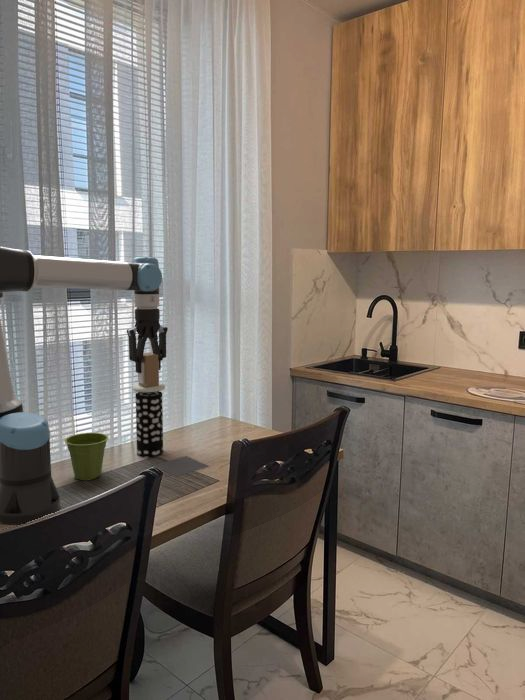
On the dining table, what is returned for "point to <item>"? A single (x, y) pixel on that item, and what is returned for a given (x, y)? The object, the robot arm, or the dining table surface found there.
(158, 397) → the white-spotted black cylinder
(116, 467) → the dining table surface
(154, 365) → the wooden post on disc
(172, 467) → the mat
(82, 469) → the plant pot
